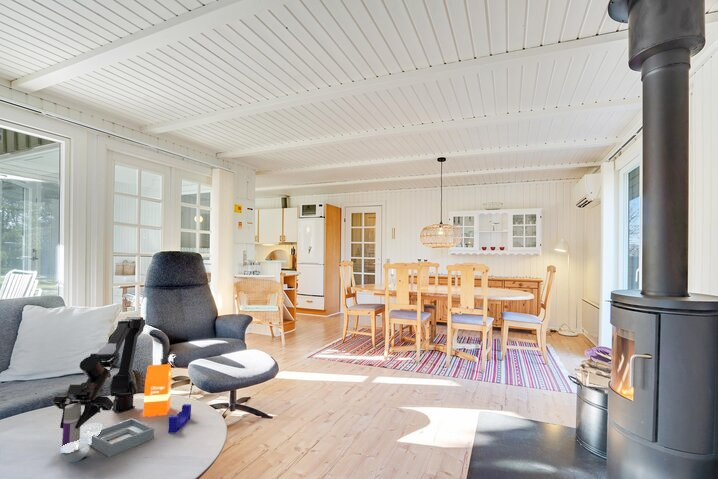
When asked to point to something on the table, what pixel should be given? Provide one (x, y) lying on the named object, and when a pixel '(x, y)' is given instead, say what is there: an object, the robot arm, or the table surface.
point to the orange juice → (157, 390)
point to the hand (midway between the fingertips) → (68, 428)
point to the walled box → (131, 426)
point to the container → (71, 423)
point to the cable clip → (179, 419)
